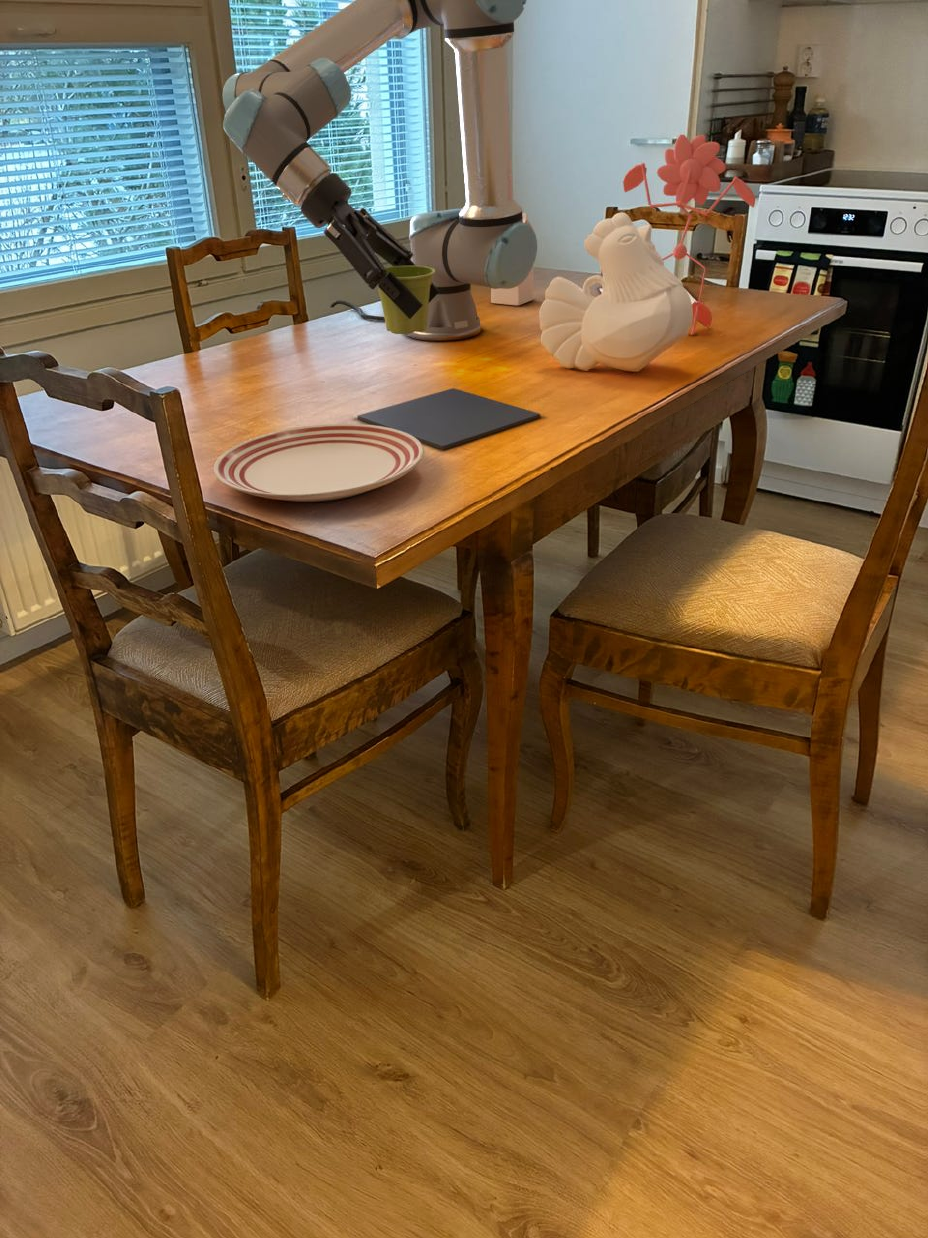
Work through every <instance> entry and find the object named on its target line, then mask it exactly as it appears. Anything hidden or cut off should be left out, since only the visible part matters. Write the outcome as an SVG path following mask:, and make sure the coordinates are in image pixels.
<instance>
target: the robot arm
mask: <svg viewBox="0 0 928 1238" xmlns="http://www.w3.org/2000/svg"><path fill="white" fill-rule="evenodd" d="M526 4H527V0H354V1H352V2H351V3H349V4H348V5H346V7H344V8H342V9H340V10H339V11H338V12H337V13H335V14H334V15H333V16H330V17H329V18H328V19H327V20H325V21H324V22H322V23H320V25H318V26H317V27H315V28H313V29H312V30H311V31H309V32H308V33H307V34H305V35H303V36H302V37H301V38H299V39H298V40H296V41H295V42H294V43H292V44H291V45H289V46H288V47H287V48H285V49H284V50H282V51H281V52H279V53H278V54H276V55H275V56H273V57H272V58H271V59H269V60H268V61H266V62H264V63H263V64H261V65H260V66H257V68H256V69H253V70H252V71H241V72H240V73H235V74H233V75H231V76H230V77H228V79H227V80H226V82H225V84H224V86H223V90H222V104H223V106H224V109H225V112H226V113H225V114H224V118H223V122H222V125H223V126H222V127H223V130H224V132H225V133H226V135H227V136H228V137H229V139H230V140H231V141H232V143H233V144H234V145H235V146H236V147H237V148H238V149H239V150H240V153H242V154H244V155H245V156H246V157H247V158H248V159H249V160H250V161H251V162H252V163H253V164H254V165H255V167H257V168H258V169H259V170H260V171H261V172H262V174H264V175H265V177H266V178H267V179H269V181H271V183H273V184H274V185H275V187H277V189H278V190H279V191H280V192H282V195H281V196H282V199H285V200H289V201H290V202H291V203H292V204H293V206H295V207H300V213H301V214H302V215H303V216H304V217H305V218H306V219H307V220H308V222H310V223H311V224H312V225H313V226H314V227H315V228H316V229H321V228H323V227H325V229H324V230H323V234H324V235H325V237H327V238H328V240H330V241H331V242H332V243H333V244H334V245H335V246H336V248H337V249H338V250H339V251H340V253H341V254H342V255H343V256H344V257H345V259H346V260H347V261H348V262H349V264H350V265H351V267H353V269H354V270H355V271H356V273H357V274H358V275H359V276H360V278H361V279H362V280H363V281H364V283H365V284H367V285H368V288H370V289H371V290H375V289H376V288H378V287H379V288H380V289H381V290H382V291H383V292H384V293H385V294H386V295H387V296H388V297H389V298H390V299H391V300H392V301H393V302H394V303H395V304H396V305H397V307H398V308H399V309H400V310H401V311H402V312H403V313H404V314H405V315H406V316H407V317H408V318H409V319H411V318H412V317H413V316H414V315H415V313H416V312H417V311H418V310H419V309H420V308H421V307H422V306H423V304H422V303H421V302H420V301H419V300H418V299H417V298H416V297H415V296H414V295H413V294H412V293H411V292H410V291H409V290H408V289H407V288H406V287H405V286H404V285H403V284H402V282H401V281H400V280H399V279H398V278H397V277H396V276H395V275H394V274H393V273H392V272H390V273H389V274H388V275H387V273H388V272H387V271H386V269H385V266H384V264H383V263H382V262H381V260H380V259H379V257H380V258H381V259H383V260H384V261H386V262H387V263H388V264H390V265H391V266H409V265H410V266H411V265H412V266H426V267H431V268H433V269H435V274H434V275H433V277H432V283H431V285H430V294H429V304H428V315H427V327H426V329H425V330H424V331H422V332H418V331H414V332H413V333H411V334H405V335H406V336H408V337H409V338H412V339H416V340H421V341H429V342H448V341H449V342H450V341H457V340H464V339H469V338H472V337H475V336H477V335H479V334H480V333H481V331H482V330H481V320H480V319H481V318H480V317H479V315H478V311H477V308H476V305H475V301H474V298H473V295H472V285H474V286H480V287H487V288H490V289H491V288H492V289H498V288H502V289H511V288H514V287H516V286H518V285H520V284H521V283H522V282H523V281H524V280H525V279H526V278H527V276H528V274H529V272H530V271H531V270H532V267H533V265H534V266H535V263H536V258H537V255H538V254H537V253H538V239H537V235H536V232H535V230H534V229H532V228H533V227H532V228H531V227H530V226H529V225H527V224H526V223H523V217H522V213H523V207H522V206H521V204H519V203H518V202H517V201H516V200H515V198H514V188H513V187H514V184H513V183H514V182H513V163H512V162H513V161H512V145H511V143H512V141H511V124H510V123H511V122H510V107H509V106H510V103H509V101H510V100H509V83H508V64H507V45H508V43H509V42H510V41H511V39H512V37H513V36H514V35H515V21H516V20H517V19H519V17H520V16H521V15H522V13H523V11H524V9H525V8H524V5H526ZM433 27H434V28H435V27H443V30H444V31H443V32H444V41H445V42H446V43H447V44H448V45H449V46H450V47H451V48H452V49H453V51H454V55H455V70H456V82H457V95H458V97H457V98H458V109H459V110H458V111H459V122H460V124H459V125H460V135H461V149H462V163H463V175H464V190H465V204H464V205H463V207H461V208H451V209H443V210H436V211H435V210H434V211H429V212H423V213H417V214H415V215H413V216H412V218H411V219H410V222H409V236H408V239H409V249H407V248H406V247H405V246H404V245H403V244H402V243H401V242H400V241H399V240H397V238H396V237H394V236H393V235H392V234H391V233H390V232H389V230H386V229H385V228H384V227H383V225H382V224H380V223H379V222H378V221H377V220H376V219H375V218H374V217H373V216H372V214H370V213H369V211H367V209H366V208H365V207H360V209H357V208H356V209H355V208H354V207H353V206H352V205H350V204H349V199H350V198H351V196H352V189H351V187H350V186H349V185H348V184H347V182H345V181H344V180H343V179H342V177H340V176H339V175H338V174H337V173H336V172H331V171H332V166H330V165H329V163H327V161H326V160H325V159H324V158H323V157H322V156H321V155H320V154H319V152H317V151H316V150H315V149H314V148H313V147H312V146H311V145H310V144H309V143H308V141H309V140H310V139H311V138H312V137H314V136H315V135H316V134H317V133H319V132H320V131H321V130H323V128H325V127H326V126H327V125H328V124H330V123H331V122H332V121H334V120H335V119H338V117H339V115H340V114H341V113H342V112H343V111H344V110H345V109H346V108H347V107H348V106H349V104H350V102H351V98H352V90H351V86H350V83H349V81H348V78H347V75H346V74H345V73H346V72H347V71H349V70H350V69H351V68H353V67H354V66H356V65H357V64H359V63H360V62H361V61H364V60H365V58H367V57H368V56H370V55H371V54H372V53H373V52H376V50H378V49H379V48H381V47H382V46H384V45H385V44H387V43H388V42H389V41H391V40H392V39H394V40H402V39H404V38H406V37H407V36H409V35H411V34H412V33H413V32H414V33H415V32H416V31H418V30H422V29H426V28H433ZM532 230H534V231H532ZM378 256H379V257H378ZM377 285H378V287H377ZM337 305H344V306H345V307H348V308H350V309H352V310H354V311H357V312H358V315H359V316H360V317H361V318H364V319H367V320H372V321H380V322H381V321H383V322H385V318H384V316H379V315H371V314H367V313H364V311H363V310H362V308H361V307H359V306H357V305H354V304H353V303H350V302H348V301H346V300H342V299H337V300H334V301H332V302H331V304H330V305H329V308H334V307H336V306H337Z"/></svg>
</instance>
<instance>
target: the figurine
mask: <svg viewBox="0 0 928 1238" xmlns="http://www.w3.org/2000/svg"><path fill="white" fill-rule="evenodd" d="M720 149H721V146H720V143H719V142H717V141H708V142H707V137H706V135H704V134H698V135H697V136H695V137H694V138H693V139H692V140H691V141H689V139H688V137H687V136H686V135H685V134H680V135H679V136H678V137H677V138H676V140H675V142H674V147H673V148H666V150H665V152H664V161H665V163H666V164H665V165H662V166H660V167H658V168H657V171H656V174H657V176H658V177H659V178H660V180H661V181H663V182H664V183H665V184H664V186H663V190H662V192H663V194H664V195H665V196H668V197H669V196H670V197H675V202H670V203H669V202H668V203H657V204H656V203H655V204H652V200H651V196H650V190H649V185H648V179H647V167H646V164H645V162H641V163H640V164H636V165H634V166H633V167H632V168H631V169H629V170H628V171H627V172H626V174H625V175H624V178H623V180H622V184H623V191H624V193H627V192H630V191H632V190H634V189H636V188H637V187H639V186H640V185H641V184H642V183H643V184H644V189H645V195H646V200H647V205H648V206H649V207H648V208H649V209H654V208H663V207H665V208H666V207H674V206H675V207H677V208H680V209H681V210H682V212H684V213H685V215H686V216H687V217H688V218H687V221H686V224H685V228H684V232H683V234H682V237H681V240H680V243H679V244H677V245H675V246H674V247H673V250H672V253H670V254H669V255H667V256H665V257H663V258H662V260H663V261H666V260H667V259H669V258H671V257H674V258H675V259H677V260H682V259H684V258H685V257H686V256H687V258H690V259H691V260H692V261H693V262H695V263H696V265H698V266H700V267H701V268H703V275H702V278H701V283H700V284H701V285H700V291H699V296H698V300H696V301H697V302H696V301H695V302H694V303H693V304H692V308H693V318H692V319H693V321H692V326H691V327H692V328H691V333H690V336H694V335H695V332H696V325H697V322H698V323H699V324H701V325H703V326H704V327H706V328H708V329H710V327H711V325H712V321H713V315H712V311H711V310H710V309H709V307H708V306H707V305H706V304H705V303H704V302H701V300H702V295H703V289H704V283H705V278H706V272H707V269H706V266H705V265H703V264H702V263H700V261H698V260H697V259H695V258H694V257H693V256H692V255H690V254H689V253H688V249H687V246H685V245H684V244H683V243H684V240H685V237H686V235H687V233H688V230H689V227H690V224H691V222H692V219H693V218H692V214H691V213H690V212H689V211H688V210H690V211H693V212H695V213H697V214H700V215H702V216H704V217H708V215H709V214H710V213H711V212H712V211H713V210H714V208H715V207H716V206H717V205H718V204H719V202H720V201H721V200H722V199H723V198H724V196H725V195H726V194H727V193H728V192H729V191H730V189H731V188H732V187H733V189H734V190H735V192H736V194H737V195H738V196H739V198H740V199H741V200H742V201H744V202H745V203H746V204H747V205H748V206H750V207H751V208H754V207H755V205H756V197H755V195H754V192H753V190H752V189H751V187H749V186H748V185H747V184H746V183H745V181H744V180H742V179H740V178H739V177H738V176H734V177H733V178H732V181H731V182H730V183H729V184H728V186H727V187H726V188H725V189H724V190H723V191H722V193H721V194H720V195H719V197H718V198H716V200H715V201H714V202H713V204H712V205H711V206H710V208H708V210H707V211H704V210H701V209H698V208H696V207H694V206H691V205H688V204H689V203H690V202H691V201H692V199H693V201H694V203H695V204H696V205H698V206H704V205H705V203H706V201H707V199H708V198H709V197H708V196H709V192H712V193H717V192H719V191H720V190H721V187H722V183H721V179H720V176H719V175H720V174H723V173H724V172H725V171H726V168H727V166H726V164H725V162H724V161H722V159H721V158H718V157H717V155H718V154H719V152H720ZM725 336H726V334H724V335H721V336H720V338H723V337H725Z"/></svg>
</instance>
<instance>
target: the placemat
mask: <svg viewBox="0 0 928 1238" xmlns="http://www.w3.org/2000/svg"><path fill="white" fill-rule="evenodd" d="M541 416H542V415H541V413H538V412H535V411H531V410H528V409H525V408H522V407H519V406H515V405H512V404H508V403H505V402H502V401H499V400H495V399H491V398H488V397H486V396H485V397H484V396H481V395H478V394H474V393H471V392H467V391H465V390H461V389H458V388H455V387H452V388H449V389H445V390H441V391H439V392H434V393H432V394H428V395H425V396H421V397H418V398H414V399H411V400H407V401H403V402H400V403H397V404H393V405H390V406H386V407H383V408H378V409H376V410H372V411H369V412H365V413H362V414H358V415H357V418H356V419H357V420H359V421H361V422H364V423H367V424H368V425H374V426H382V427H387V428H392V429H396V430H399V431H402V432H405V433H407V434H410V435H412V436H413V437H415V438H416V439H417V440H419V442H420V443H421V444H422V443H423V444H424V445H427V446H431V447H433V448H436V449H438V450H441V451H444V450H447V449H451V448H454V447H456V446H459V445H460V446H461V445H463V444H465V443H469V442H472V441H475V440H477V439H481V438H484V437H486V436H490V435H493V434H497V433H499V432H501V431H505V430H507V429H510V428H513V427H516V426H520V425H522V424H526V423H528V422H531V421H535V420H537V419H540V418H541Z"/></svg>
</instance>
